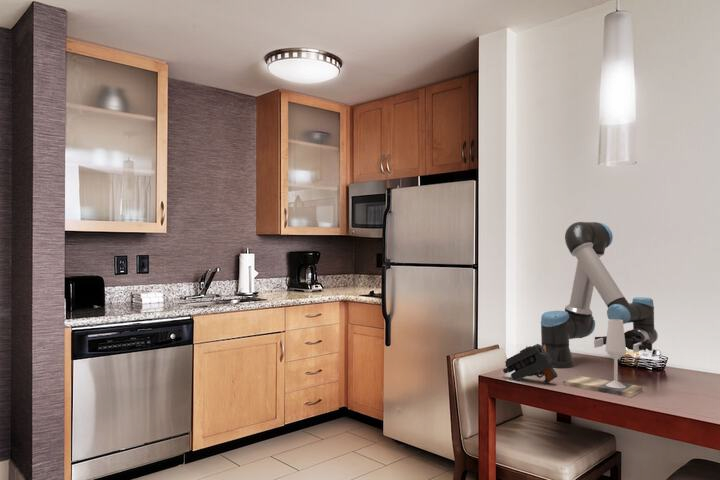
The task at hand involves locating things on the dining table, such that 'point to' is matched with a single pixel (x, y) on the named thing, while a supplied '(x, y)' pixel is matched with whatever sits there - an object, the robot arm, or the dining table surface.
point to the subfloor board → (601, 386)
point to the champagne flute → (615, 347)
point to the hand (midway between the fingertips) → (614, 346)
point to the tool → (531, 364)
